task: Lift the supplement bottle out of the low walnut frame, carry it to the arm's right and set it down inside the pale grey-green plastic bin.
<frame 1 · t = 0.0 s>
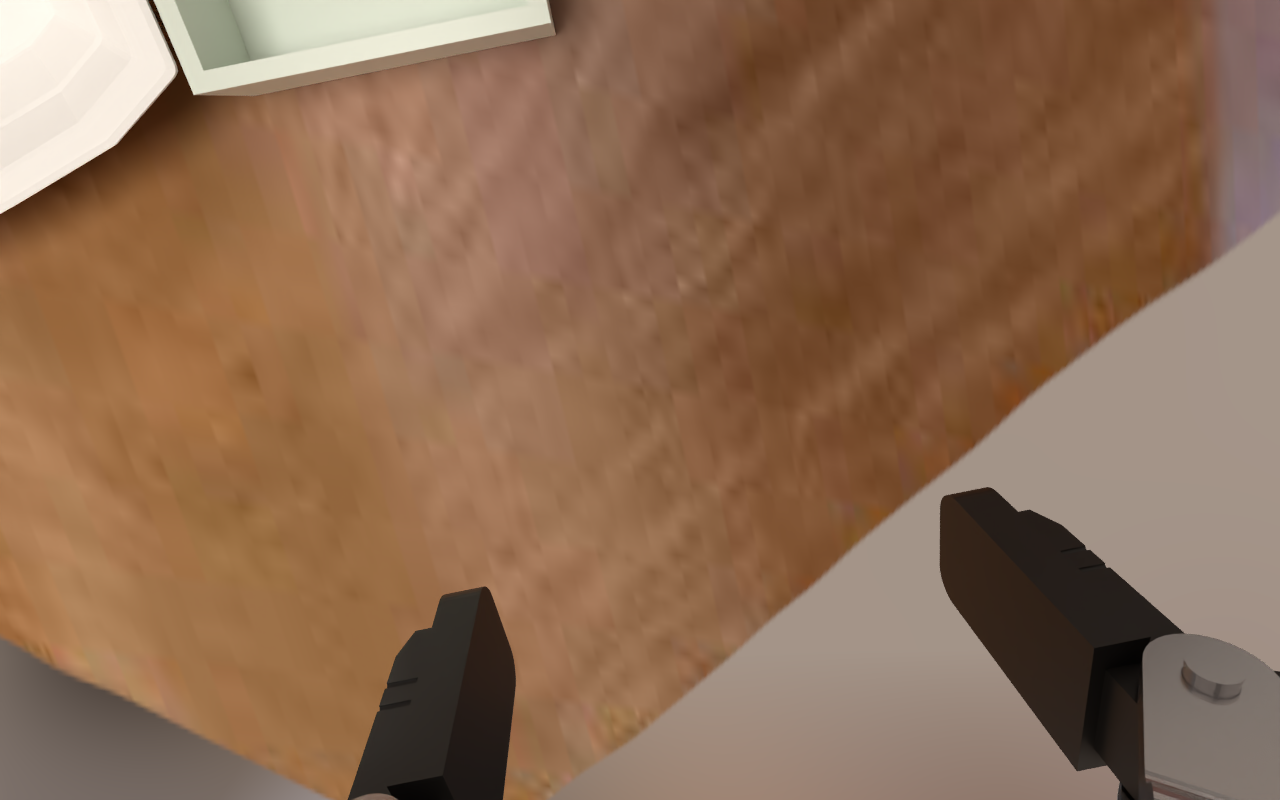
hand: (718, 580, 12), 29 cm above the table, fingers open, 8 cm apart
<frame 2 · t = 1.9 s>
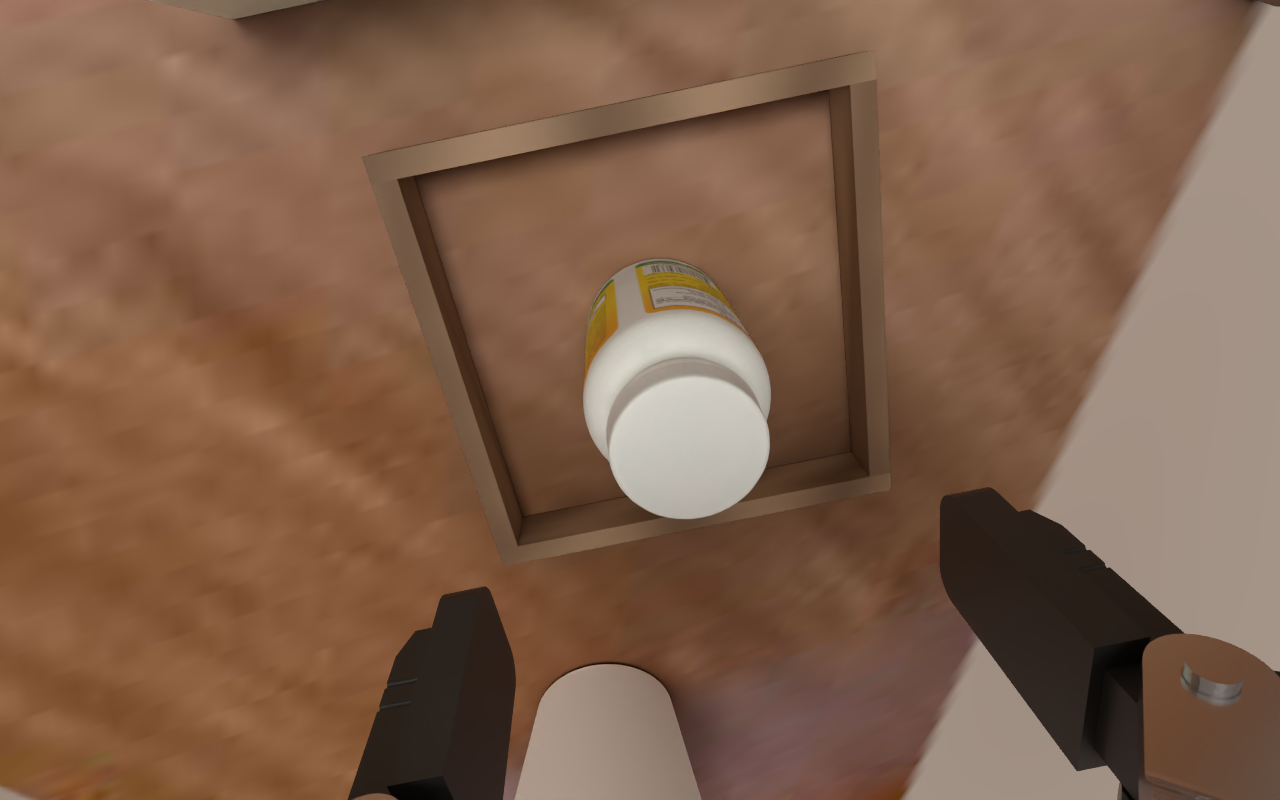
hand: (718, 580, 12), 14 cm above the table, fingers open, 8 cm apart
supplement bottle: (656, 326, 25), resting in walnut frame
cup: (605, 708, 33), on the table
walnut frame: (656, 327, 25), on the table
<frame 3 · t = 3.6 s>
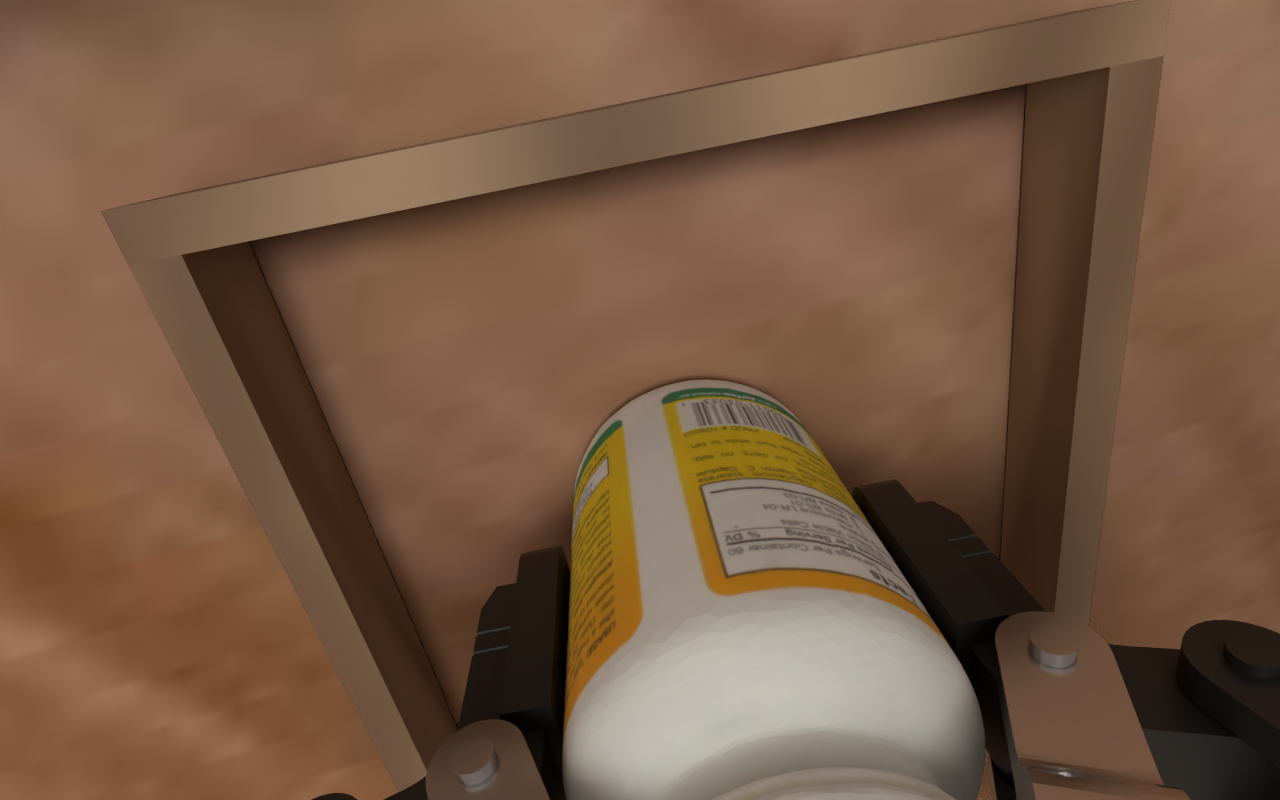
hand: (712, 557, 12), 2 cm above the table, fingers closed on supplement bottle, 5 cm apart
supplement bottle: (692, 481, 15), resting in walnut frame, touching gripper
walnut frame: (693, 486, 15), on the table
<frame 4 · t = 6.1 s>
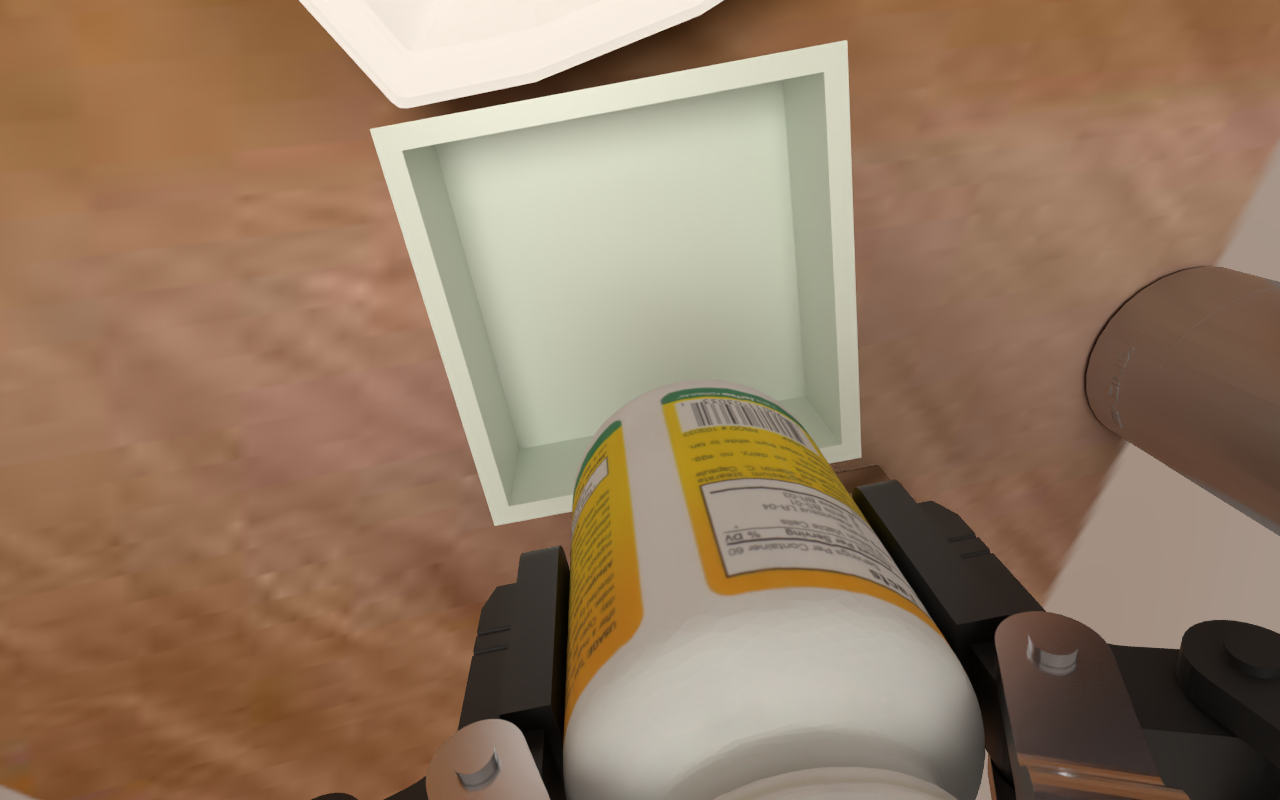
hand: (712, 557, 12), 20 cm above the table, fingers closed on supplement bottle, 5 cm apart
supplement bottle: (691, 481, 15), point 17 cm above the table, touching gripper
plastic bin: (636, 277, 30), on the table
walnut frame: (747, 606, 38), on the table
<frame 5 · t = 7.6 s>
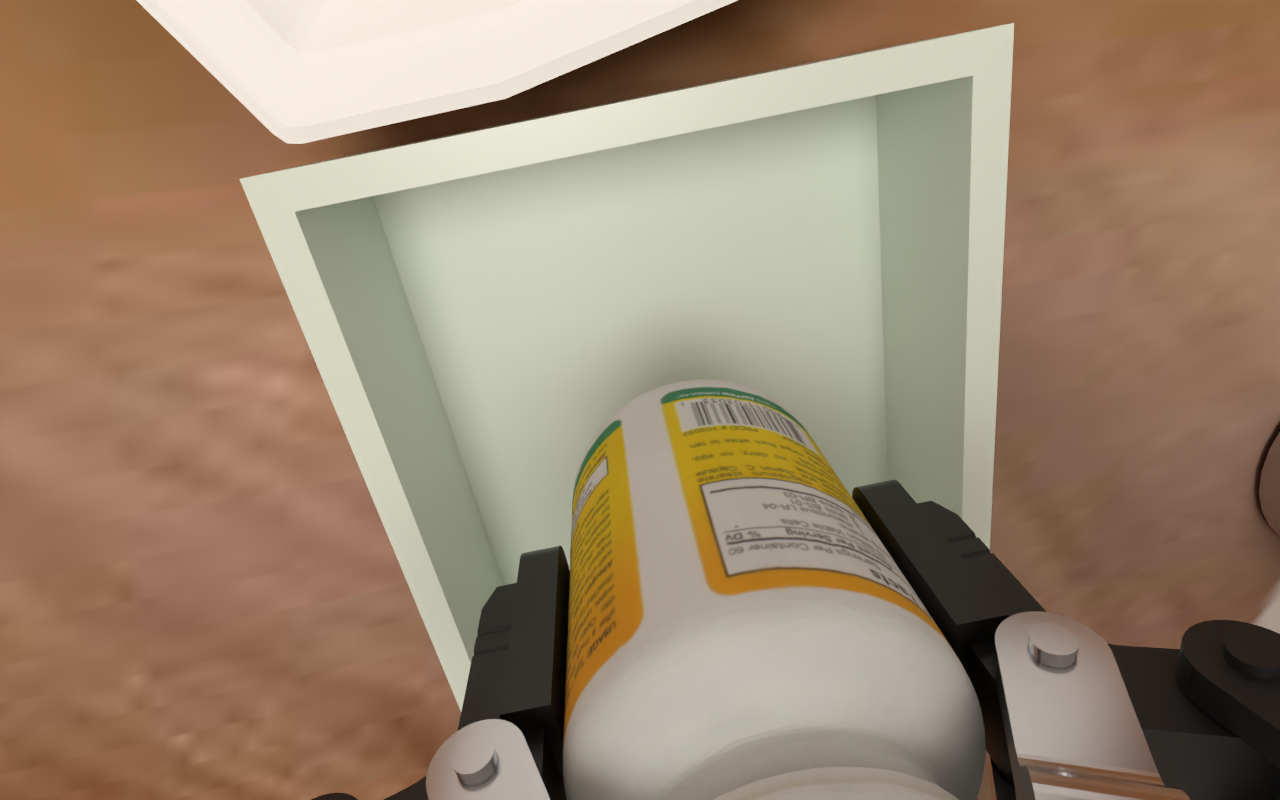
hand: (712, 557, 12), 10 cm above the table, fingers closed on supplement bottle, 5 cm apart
supplement bottle: (691, 481, 15), point 8 cm above the table, touching gripper
plastic bin: (661, 360, 22), on the table
walnut frame: (801, 755, 30), on the table
when the fingers open (5 cm above the table, at t = 8.9 s): supplement bottle drops 2 cm, resting on plastic bin.
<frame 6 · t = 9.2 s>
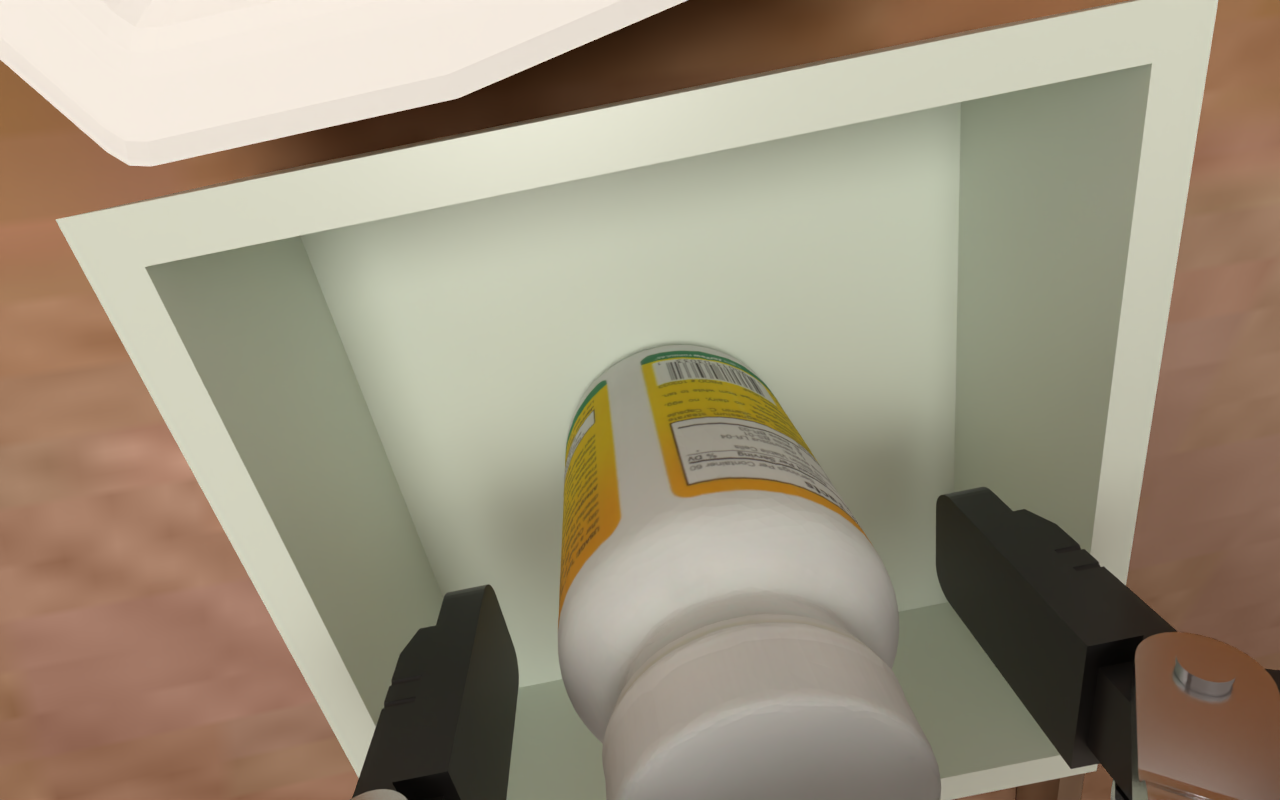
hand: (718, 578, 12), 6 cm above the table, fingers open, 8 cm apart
supplement bottle: (670, 438, 17), point 1 cm above the table, touching plastic bin
plastic bin: (674, 426, 17), on the table
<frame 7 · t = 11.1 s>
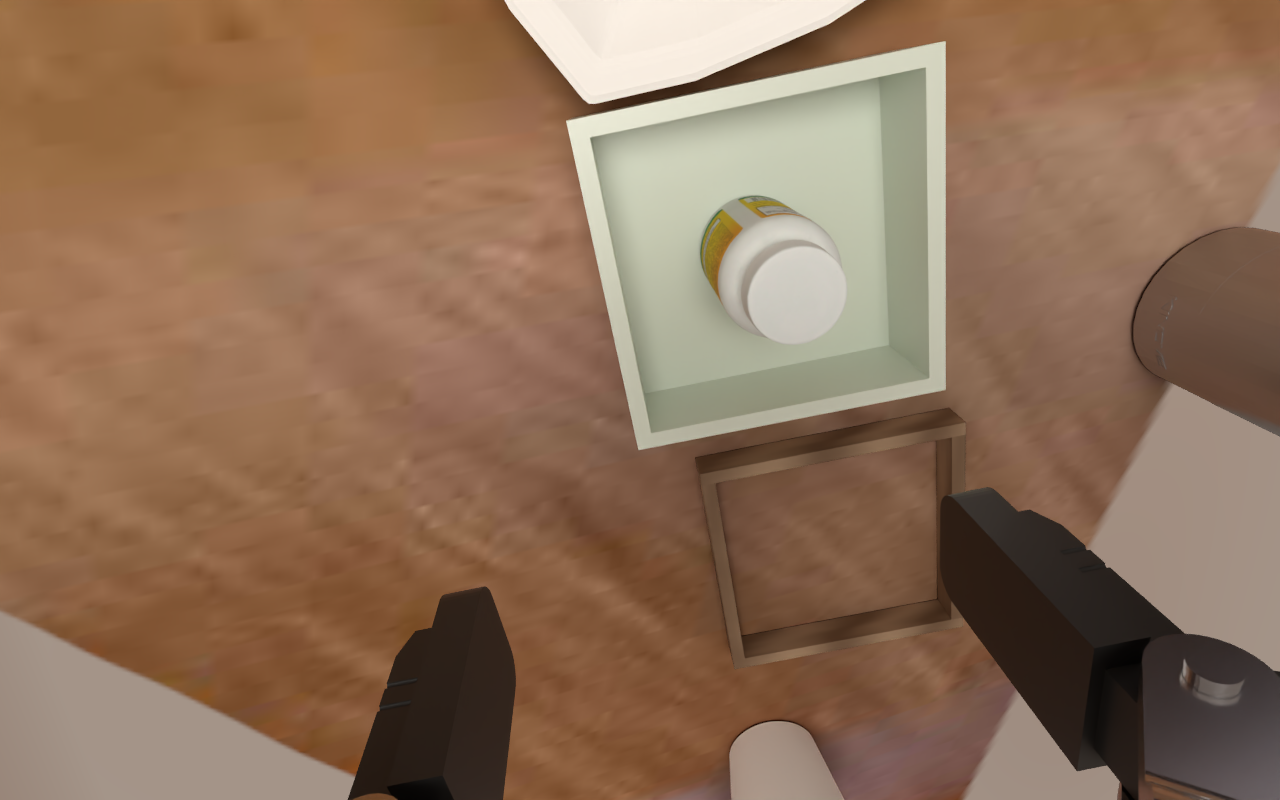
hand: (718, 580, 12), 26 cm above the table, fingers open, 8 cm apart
supplement bottle: (747, 246, 35), point 1 cm above the table, touching plastic bin
cup: (770, 747, 52), on the table
plastic bin: (748, 244, 35), on the table
walnut frame: (830, 536, 44), on the table
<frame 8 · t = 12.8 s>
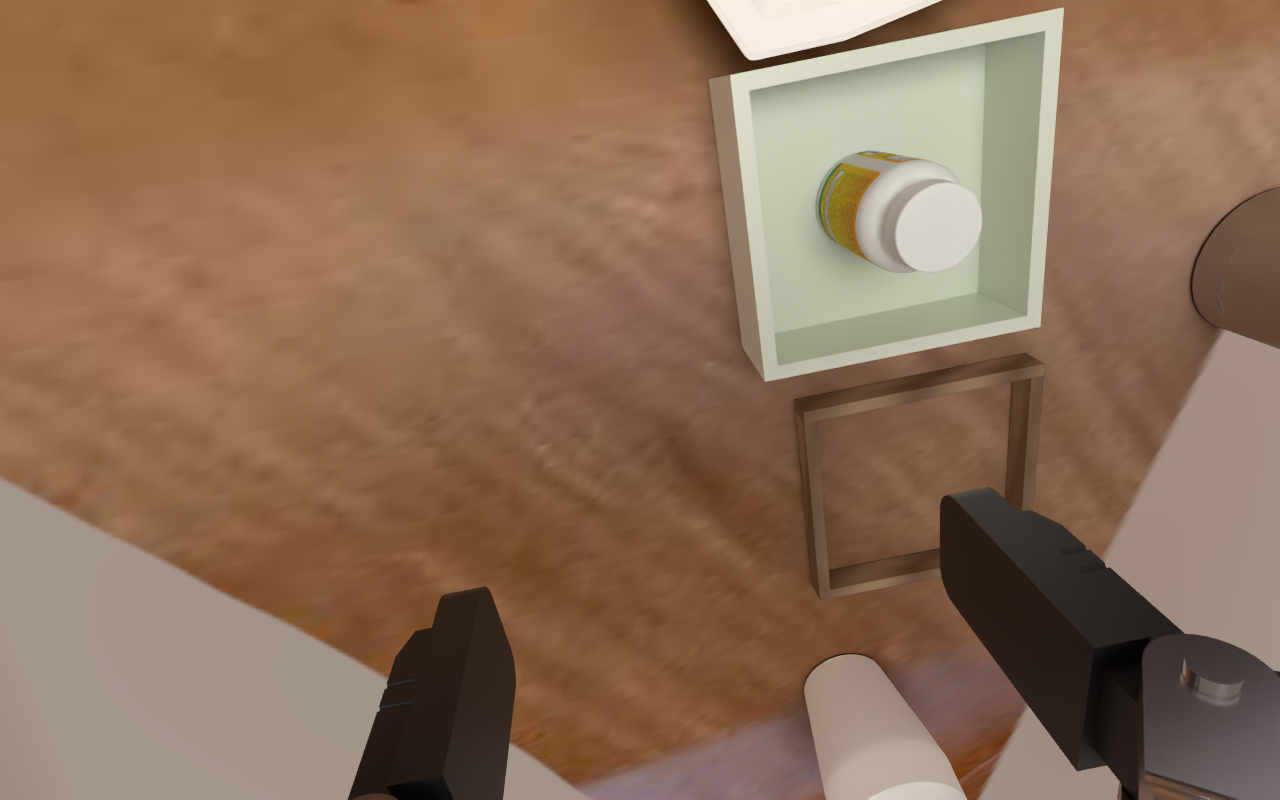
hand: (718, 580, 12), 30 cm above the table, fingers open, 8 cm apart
supplement bottle: (857, 199, 38), point 1 cm above the table, touching plastic bin
cup: (841, 681, 55), on the table
plastic bin: (857, 197, 39), on the table
walnut frame: (911, 475, 47), on the table
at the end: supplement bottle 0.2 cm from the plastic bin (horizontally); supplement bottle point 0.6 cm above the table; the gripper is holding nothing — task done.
